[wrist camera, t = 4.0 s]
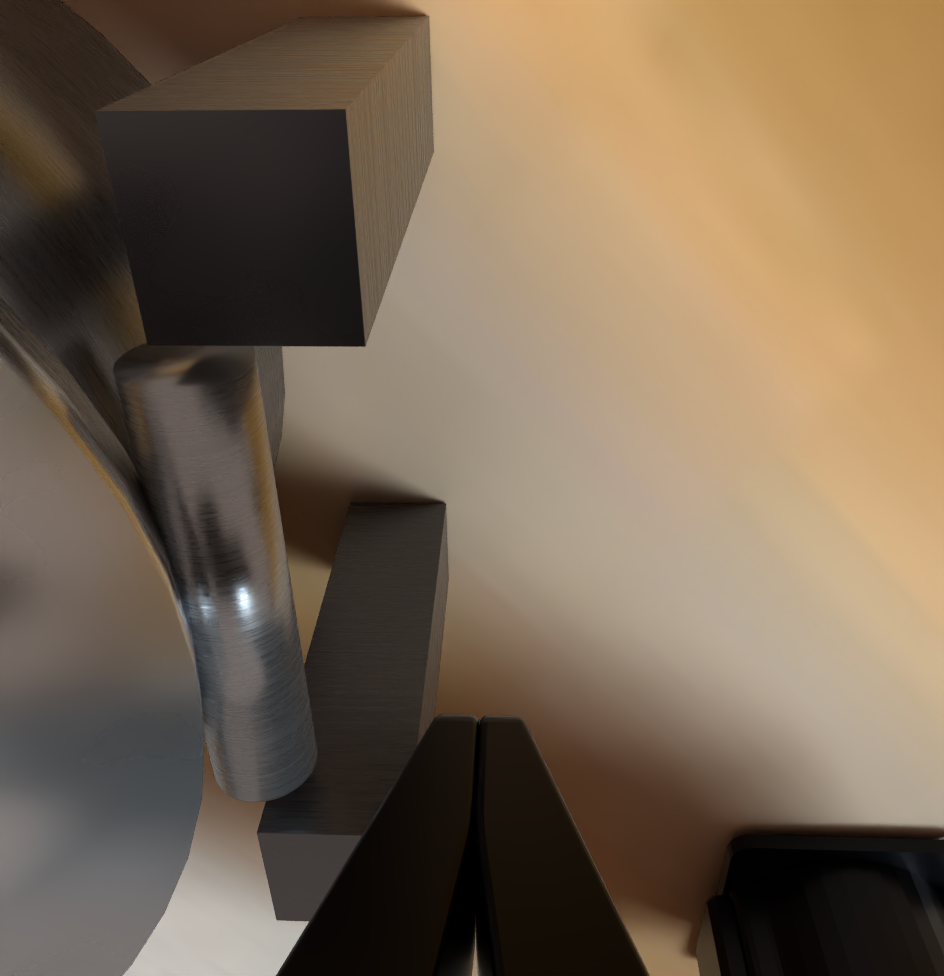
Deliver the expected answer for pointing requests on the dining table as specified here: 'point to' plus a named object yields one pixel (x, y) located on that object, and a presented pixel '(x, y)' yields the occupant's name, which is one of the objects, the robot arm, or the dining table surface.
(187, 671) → the lid
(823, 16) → the dining table surface
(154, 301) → the cooker
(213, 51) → the dining table surface
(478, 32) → the dining table surface
